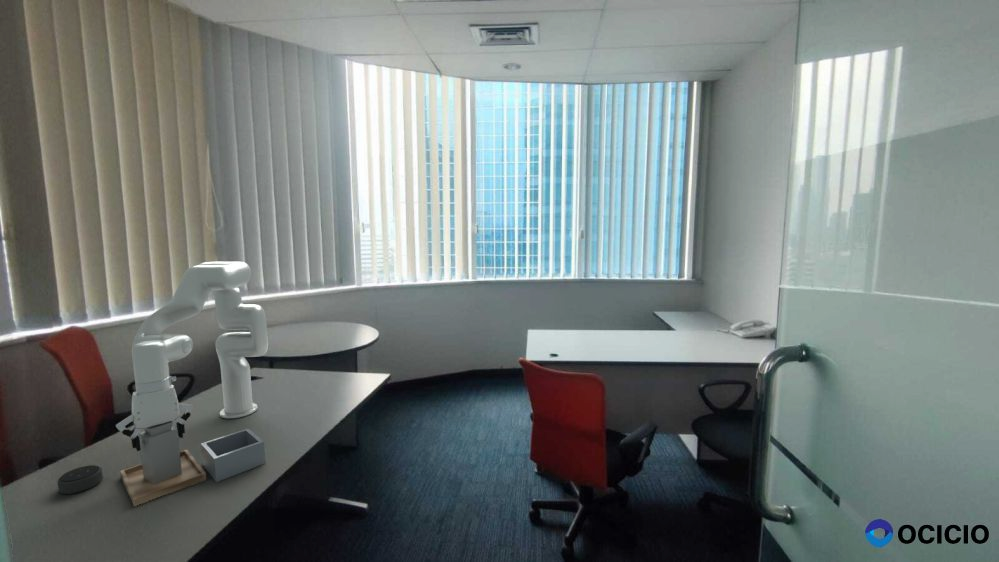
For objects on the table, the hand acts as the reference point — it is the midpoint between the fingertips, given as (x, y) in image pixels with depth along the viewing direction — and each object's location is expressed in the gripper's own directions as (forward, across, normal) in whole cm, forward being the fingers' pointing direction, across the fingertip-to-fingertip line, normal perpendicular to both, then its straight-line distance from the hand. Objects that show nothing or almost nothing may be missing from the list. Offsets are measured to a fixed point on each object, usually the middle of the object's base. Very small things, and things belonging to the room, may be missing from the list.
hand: (159, 442), depth 122 cm
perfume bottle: (+10, 0, 0) cm, 10 cm away
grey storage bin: (+11, -16, +7) cm, 21 cm away
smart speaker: (+11, +16, -13) cm, 23 cm away
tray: (+11, 0, 0) cm, 11 cm away
